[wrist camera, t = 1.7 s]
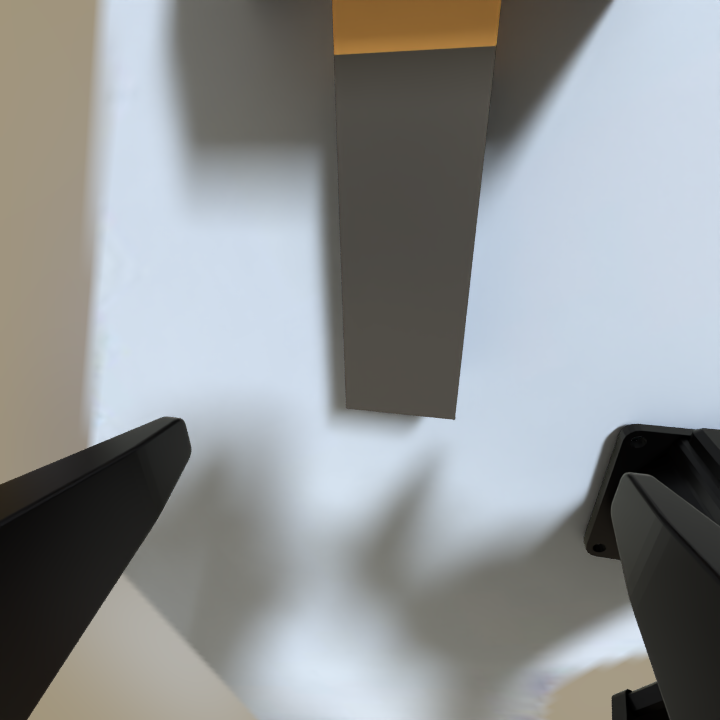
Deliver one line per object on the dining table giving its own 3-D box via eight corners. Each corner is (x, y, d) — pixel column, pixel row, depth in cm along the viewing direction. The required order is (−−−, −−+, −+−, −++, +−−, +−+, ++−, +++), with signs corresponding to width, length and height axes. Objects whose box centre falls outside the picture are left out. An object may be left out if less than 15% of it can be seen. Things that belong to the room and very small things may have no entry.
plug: (454, 373, 16) (454, 419, 13) (363, 365, 16) (346, 408, 14) (512, -178, 9) (535, -303, 7) (358, -155, 10) (323, -262, 7)
